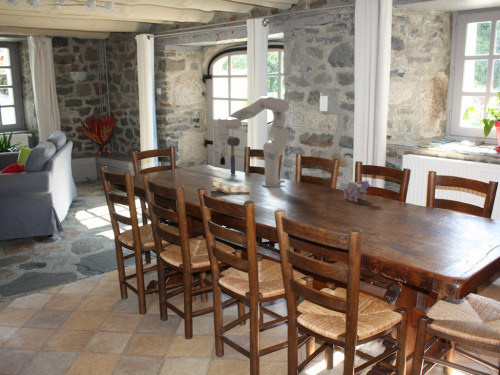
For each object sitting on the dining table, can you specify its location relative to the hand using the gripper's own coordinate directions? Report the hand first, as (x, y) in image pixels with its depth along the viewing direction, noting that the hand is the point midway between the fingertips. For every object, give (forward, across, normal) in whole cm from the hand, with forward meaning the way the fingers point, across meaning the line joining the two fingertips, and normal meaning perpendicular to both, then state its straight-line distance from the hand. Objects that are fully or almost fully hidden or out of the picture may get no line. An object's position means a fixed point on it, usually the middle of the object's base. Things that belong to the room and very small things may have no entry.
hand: (222, 164), depth 329 cm
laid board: (+18, +1, -12) cm, 22 cm away
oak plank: (+16, +1, +1) cm, 16 cm away
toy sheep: (+16, -39, -82) cm, 92 cm away
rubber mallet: (+17, +63, -12) cm, 66 cm away
